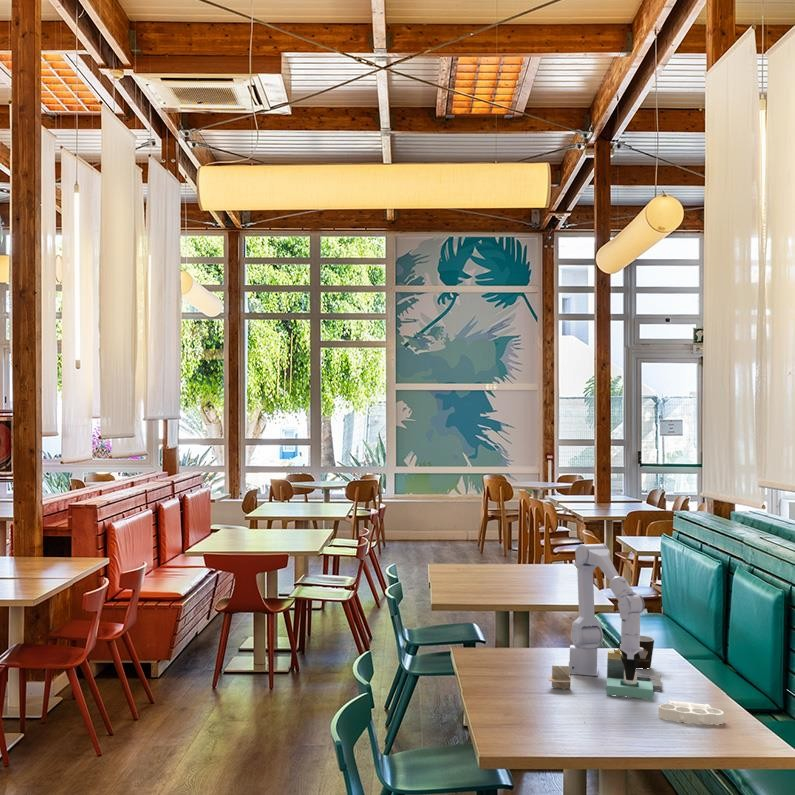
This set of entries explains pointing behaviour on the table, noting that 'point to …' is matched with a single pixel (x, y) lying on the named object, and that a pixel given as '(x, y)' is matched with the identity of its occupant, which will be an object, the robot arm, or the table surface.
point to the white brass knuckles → (690, 713)
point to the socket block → (617, 671)
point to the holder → (629, 689)
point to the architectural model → (560, 677)
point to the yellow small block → (615, 654)
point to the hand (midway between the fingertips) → (629, 676)
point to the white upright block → (630, 682)
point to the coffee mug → (644, 652)
